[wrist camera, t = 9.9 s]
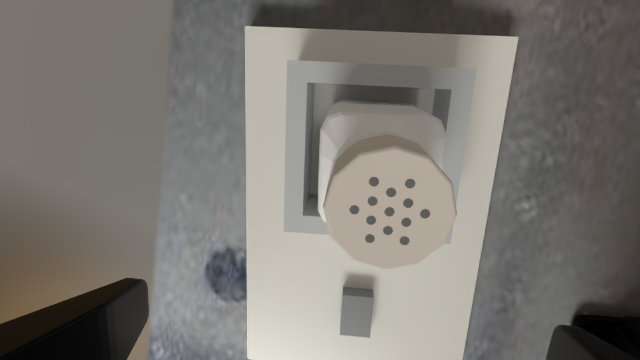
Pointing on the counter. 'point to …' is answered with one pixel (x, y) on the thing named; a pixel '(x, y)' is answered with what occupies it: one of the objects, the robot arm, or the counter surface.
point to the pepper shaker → (384, 182)
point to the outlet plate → (302, 191)
